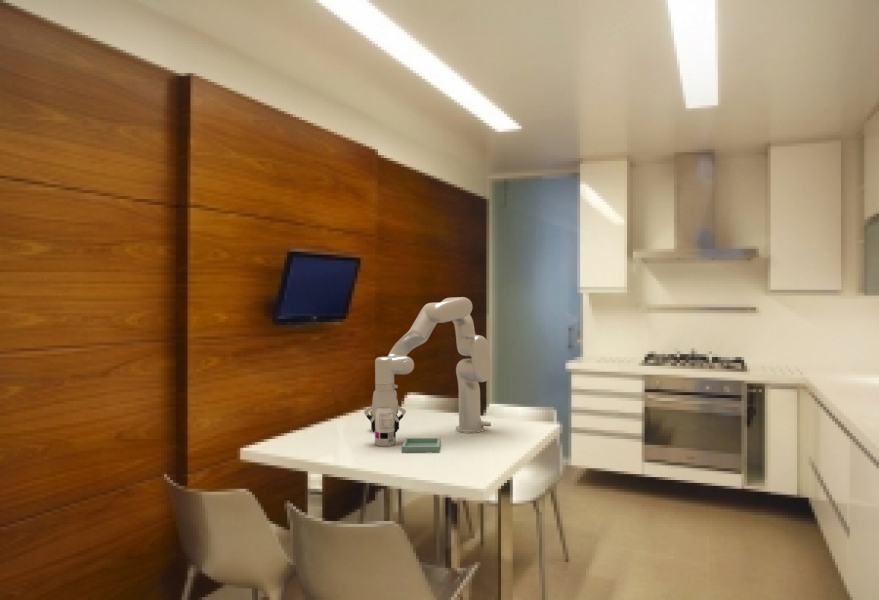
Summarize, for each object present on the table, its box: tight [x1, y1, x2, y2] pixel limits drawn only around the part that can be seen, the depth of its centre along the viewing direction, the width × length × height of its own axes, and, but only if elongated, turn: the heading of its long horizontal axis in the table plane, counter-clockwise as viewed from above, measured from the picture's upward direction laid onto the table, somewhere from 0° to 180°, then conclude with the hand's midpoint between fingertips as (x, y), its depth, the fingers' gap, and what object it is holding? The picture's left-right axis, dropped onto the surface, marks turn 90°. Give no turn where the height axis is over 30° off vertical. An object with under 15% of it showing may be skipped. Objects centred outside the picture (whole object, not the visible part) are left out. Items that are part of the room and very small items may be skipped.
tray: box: [401, 437, 441, 454], centre depth 209 cm, size 14×14×2 cm
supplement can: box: [374, 408, 397, 447], centre depth 216 cm, size 8×8×15 cm
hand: (385, 431), depth 216 cm, fingers closed on supplement can, 8 cm apart
